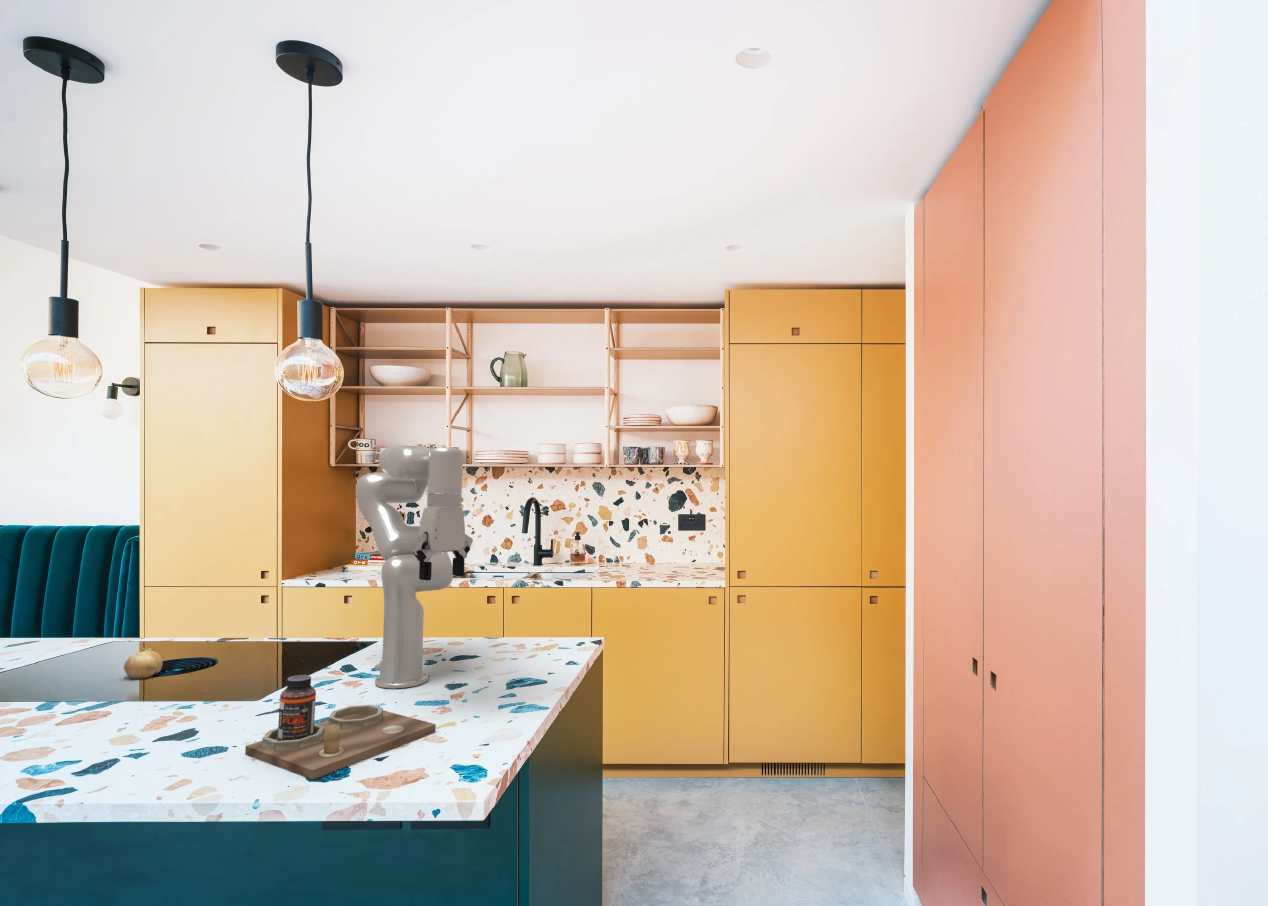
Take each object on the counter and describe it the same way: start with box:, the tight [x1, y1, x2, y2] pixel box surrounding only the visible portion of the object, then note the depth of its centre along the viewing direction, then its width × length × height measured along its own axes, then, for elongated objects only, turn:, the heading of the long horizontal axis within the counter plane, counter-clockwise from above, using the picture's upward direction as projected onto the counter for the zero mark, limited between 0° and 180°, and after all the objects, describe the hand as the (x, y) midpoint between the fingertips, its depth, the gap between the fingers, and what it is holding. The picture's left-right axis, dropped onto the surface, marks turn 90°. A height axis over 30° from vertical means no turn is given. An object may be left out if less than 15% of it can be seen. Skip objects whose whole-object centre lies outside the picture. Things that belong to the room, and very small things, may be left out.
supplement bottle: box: [277, 674, 317, 741], centre depth 120 cm, size 6×6×11 cm
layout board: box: [244, 704, 437, 780], centre depth 123 cm, size 20×26×6 cm
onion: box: [123, 647, 164, 680], centre depth 166 cm, size 8×8×7 cm
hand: (442, 577), depth 147 cm, fingers open, 9 cm apart
